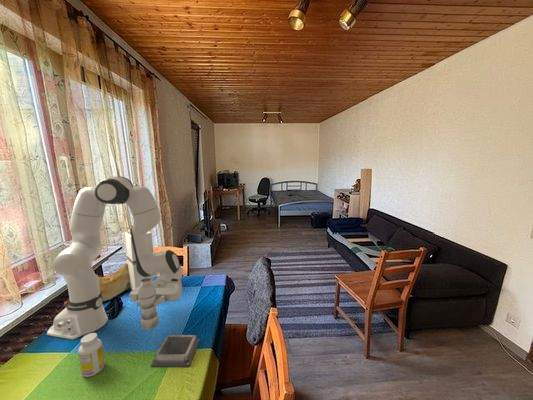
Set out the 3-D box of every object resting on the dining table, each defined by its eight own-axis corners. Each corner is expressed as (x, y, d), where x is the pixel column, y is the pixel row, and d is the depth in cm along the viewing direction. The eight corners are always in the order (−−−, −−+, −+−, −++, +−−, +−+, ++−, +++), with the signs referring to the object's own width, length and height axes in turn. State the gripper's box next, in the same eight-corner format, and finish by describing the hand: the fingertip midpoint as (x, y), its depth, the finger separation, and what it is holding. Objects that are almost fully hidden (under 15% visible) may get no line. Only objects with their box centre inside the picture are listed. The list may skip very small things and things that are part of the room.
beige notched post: (156, 291, 138) (151, 232, 133) (136, 298, 131) (130, 236, 126) (149, 284, 147) (145, 228, 141) (130, 290, 139) (124, 232, 134)
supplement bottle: (101, 359, 90) (97, 328, 88) (107, 368, 86) (103, 336, 84) (79, 371, 85) (74, 338, 83) (84, 381, 81) (80, 347, 79)
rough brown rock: (126, 281, 152) (122, 259, 150) (140, 286, 142) (136, 262, 141) (83, 300, 132) (78, 275, 130) (97, 307, 123) (91, 280, 121)
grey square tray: (150, 366, 86) (150, 358, 86) (166, 340, 99) (165, 333, 99) (189, 367, 86) (188, 358, 85) (199, 340, 99) (199, 333, 98)
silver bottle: (152, 333, 92) (147, 285, 89) (137, 330, 94) (132, 283, 91) (162, 322, 99) (158, 277, 96) (148, 320, 100) (144, 275, 97)
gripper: (139, 280, 107) (119, 297, 94) (184, 279, 107) (171, 296, 93) (140, 293, 108) (121, 311, 94) (185, 292, 108) (172, 311, 94)
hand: (146, 304), depth 94 cm, fingers closed on silver bottle, 5 cm apart
